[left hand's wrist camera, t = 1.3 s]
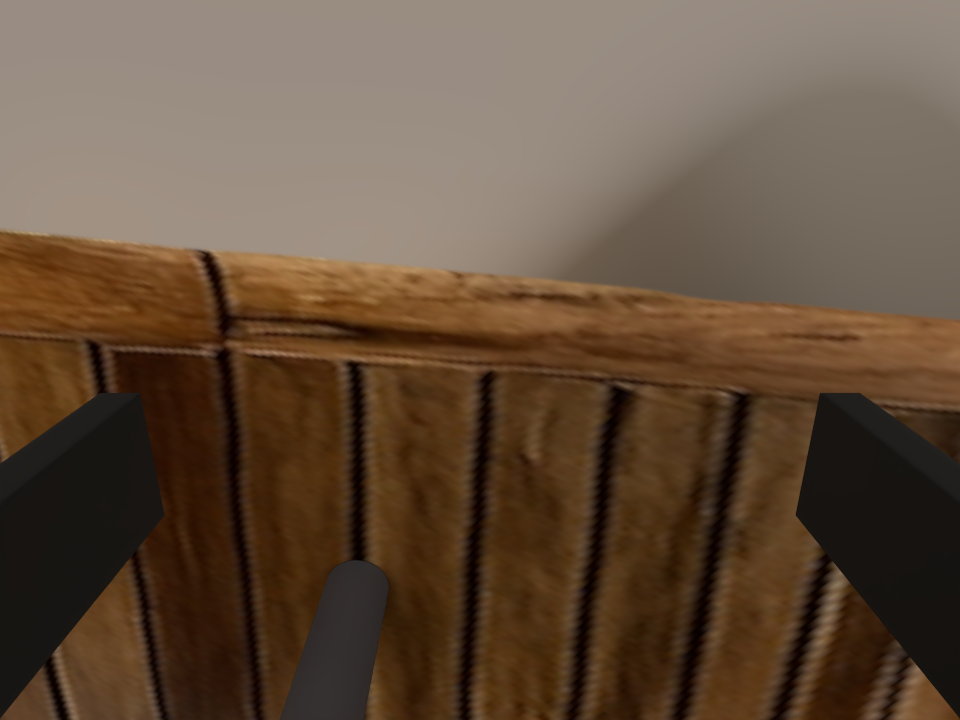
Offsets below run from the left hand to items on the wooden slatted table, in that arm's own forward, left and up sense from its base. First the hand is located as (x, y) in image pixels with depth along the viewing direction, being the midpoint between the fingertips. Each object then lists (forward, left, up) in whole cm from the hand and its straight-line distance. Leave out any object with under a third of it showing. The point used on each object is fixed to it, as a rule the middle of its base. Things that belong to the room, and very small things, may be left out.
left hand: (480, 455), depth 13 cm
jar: (-26, +9, -28) cm, 40 cm away
